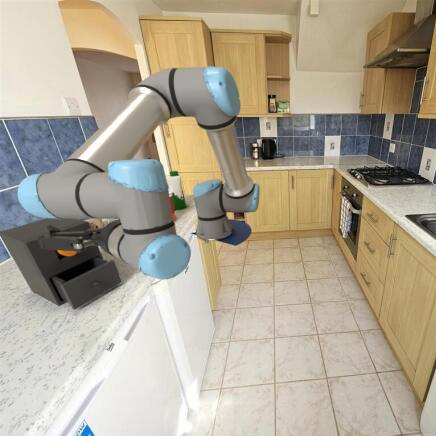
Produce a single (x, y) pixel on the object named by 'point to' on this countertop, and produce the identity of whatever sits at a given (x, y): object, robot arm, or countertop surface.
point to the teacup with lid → (96, 223)
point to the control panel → (31, 251)
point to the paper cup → (172, 206)
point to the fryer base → (48, 281)
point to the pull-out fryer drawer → (86, 281)
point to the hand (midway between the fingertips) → (88, 223)
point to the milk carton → (176, 190)
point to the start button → (66, 252)
